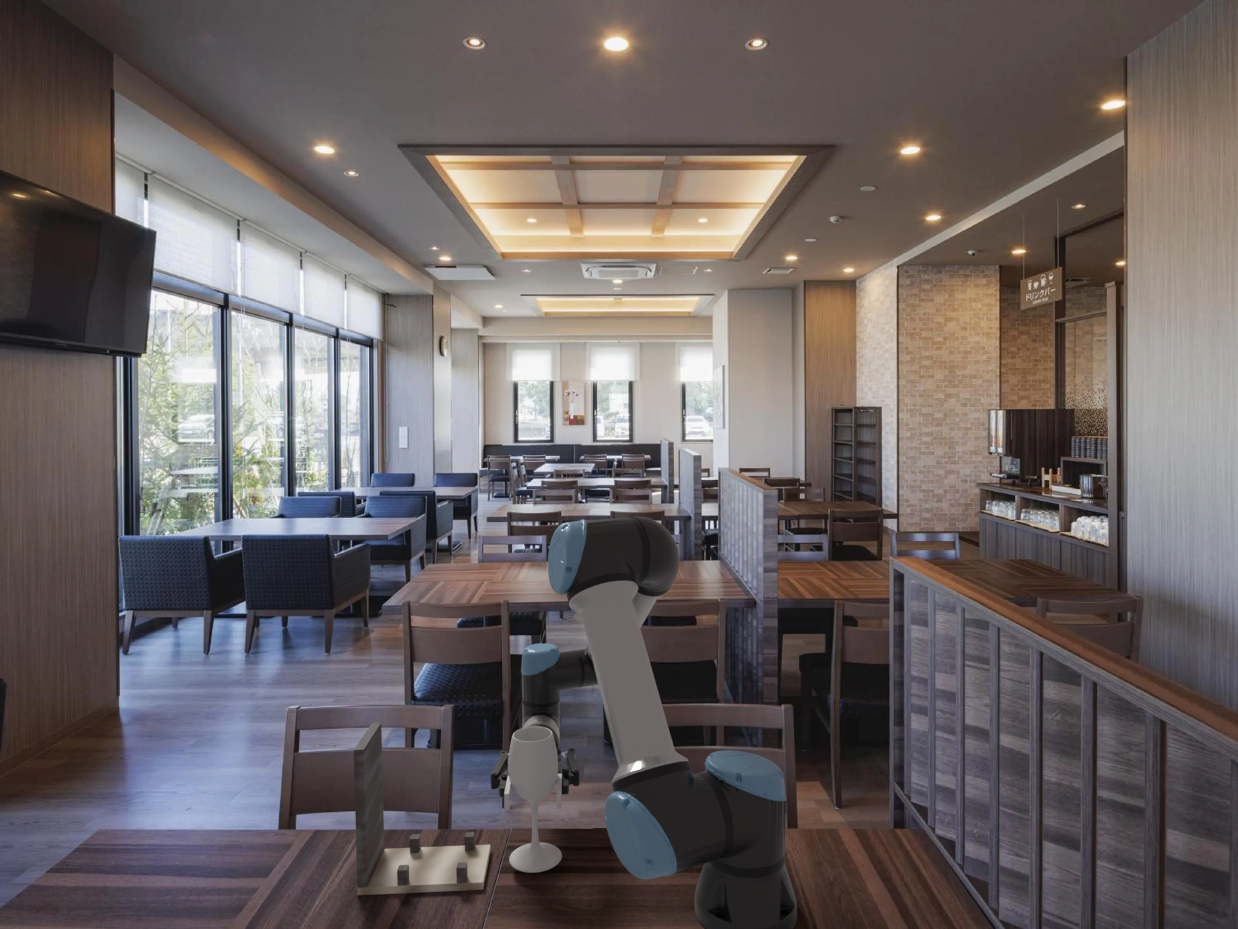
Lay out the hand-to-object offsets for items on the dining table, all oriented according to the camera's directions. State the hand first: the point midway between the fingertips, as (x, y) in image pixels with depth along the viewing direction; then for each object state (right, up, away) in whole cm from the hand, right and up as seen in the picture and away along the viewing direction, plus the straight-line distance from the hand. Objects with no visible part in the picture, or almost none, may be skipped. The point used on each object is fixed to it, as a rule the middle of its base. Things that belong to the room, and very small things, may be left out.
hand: (532, 801), depth 121 cm
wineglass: (0, -12, +5) cm, 13 cm away
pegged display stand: (-18, -14, +4) cm, 23 cm away
